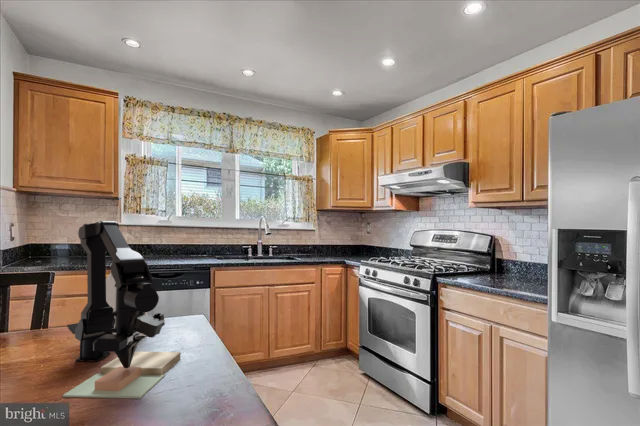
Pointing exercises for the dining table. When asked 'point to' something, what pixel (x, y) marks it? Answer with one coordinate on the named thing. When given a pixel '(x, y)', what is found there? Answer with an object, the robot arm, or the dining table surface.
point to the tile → (117, 378)
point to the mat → (129, 391)
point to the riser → (147, 362)
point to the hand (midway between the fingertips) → (126, 367)
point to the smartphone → (72, 327)
